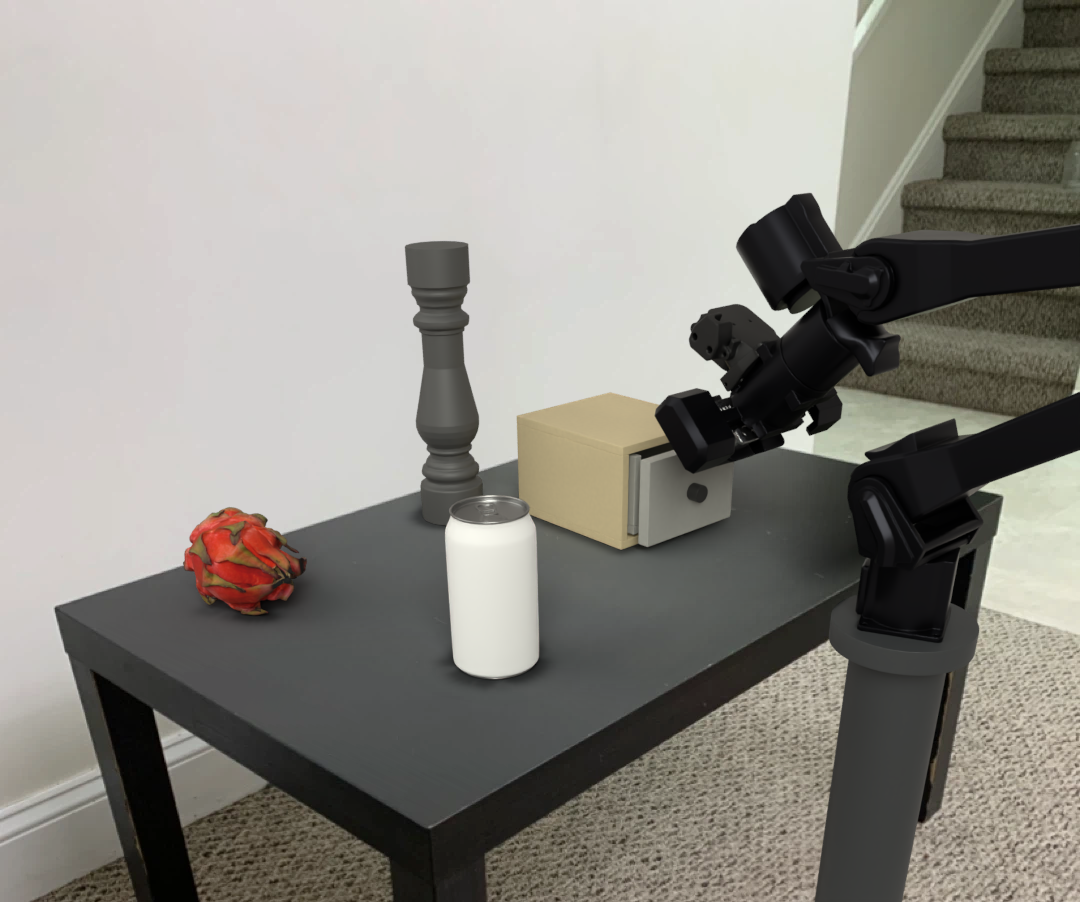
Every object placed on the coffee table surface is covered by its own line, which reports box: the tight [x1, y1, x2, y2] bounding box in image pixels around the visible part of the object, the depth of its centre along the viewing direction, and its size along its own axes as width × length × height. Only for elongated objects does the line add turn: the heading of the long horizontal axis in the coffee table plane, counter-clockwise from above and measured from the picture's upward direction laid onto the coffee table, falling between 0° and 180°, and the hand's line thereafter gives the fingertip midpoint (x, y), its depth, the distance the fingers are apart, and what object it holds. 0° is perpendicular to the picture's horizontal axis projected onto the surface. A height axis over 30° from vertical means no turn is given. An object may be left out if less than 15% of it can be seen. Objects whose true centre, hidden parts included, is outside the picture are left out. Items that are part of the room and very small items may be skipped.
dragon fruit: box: [182, 506, 308, 616], centre depth 90 cm, size 8×8×12 cm
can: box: [444, 494, 540, 681], centre depth 79 cm, size 6×6×12 cm
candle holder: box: [404, 240, 484, 526], centre depth 103 cm, size 6×6×25 cm
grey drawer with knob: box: [627, 442, 735, 548], centre depth 104 cm, size 15×11×8 cm
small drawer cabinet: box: [516, 391, 669, 551], centre depth 106 cm, size 15×13×10 cm
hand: (696, 466), depth 98 cm, fingers closed, pressing on grey drawer with knob
